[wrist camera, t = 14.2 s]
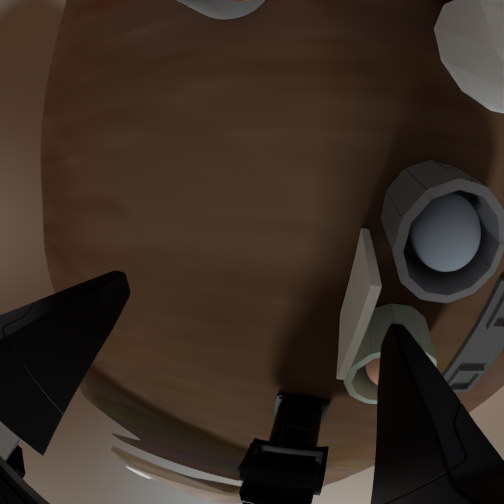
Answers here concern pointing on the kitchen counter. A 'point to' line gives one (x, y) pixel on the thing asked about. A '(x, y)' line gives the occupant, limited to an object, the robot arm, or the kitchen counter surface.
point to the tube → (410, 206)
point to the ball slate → (446, 233)
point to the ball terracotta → (373, 369)
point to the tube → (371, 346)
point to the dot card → (358, 303)
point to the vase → (474, 48)
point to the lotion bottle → (223, 7)
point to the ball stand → (479, 345)
